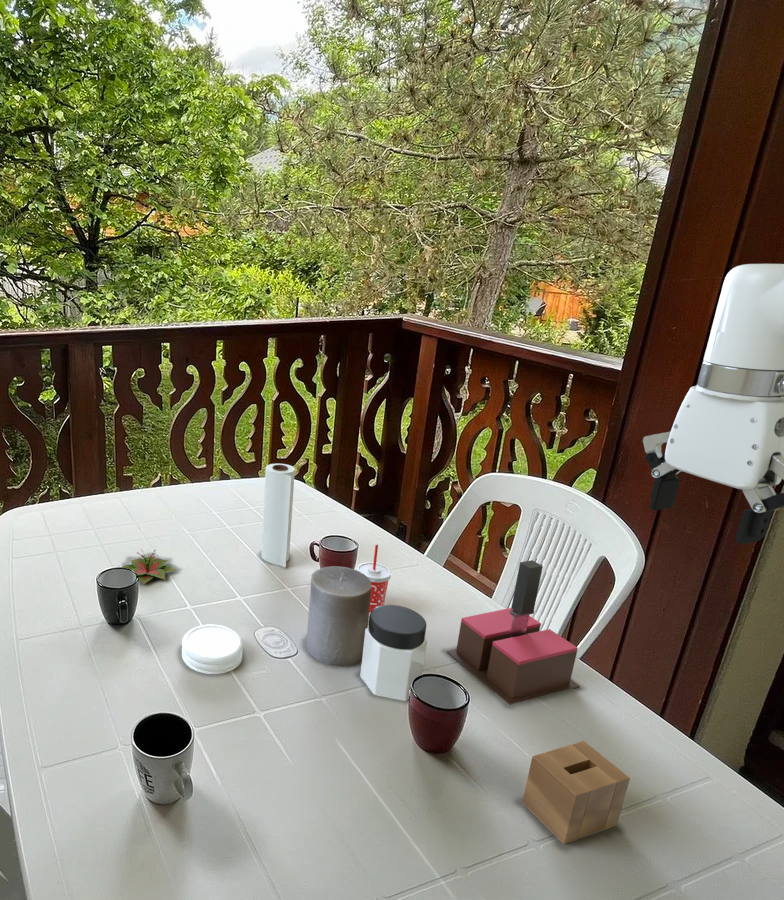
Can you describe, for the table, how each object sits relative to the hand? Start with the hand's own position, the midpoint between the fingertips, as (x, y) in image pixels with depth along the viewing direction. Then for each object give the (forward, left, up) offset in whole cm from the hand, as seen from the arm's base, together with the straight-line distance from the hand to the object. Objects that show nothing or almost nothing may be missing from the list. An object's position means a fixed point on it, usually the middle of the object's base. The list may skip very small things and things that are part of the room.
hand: (701, 524), depth 75 cm
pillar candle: (+42, -2, -34) cm, 54 cm away
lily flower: (+84, -9, -34) cm, 91 cm away
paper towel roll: (+63, -27, -34) cm, 77 cm away
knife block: (+8, +16, -34) cm, 39 cm away
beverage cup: (+40, -17, -34) cm, 55 cm away
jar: (+32, +2, -34) cm, 47 cm away
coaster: (+59, +10, -34) cm, 69 cm away
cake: (+16, -11, -34) cm, 39 cm away
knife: (+16, -11, -33) cm, 39 cm away
